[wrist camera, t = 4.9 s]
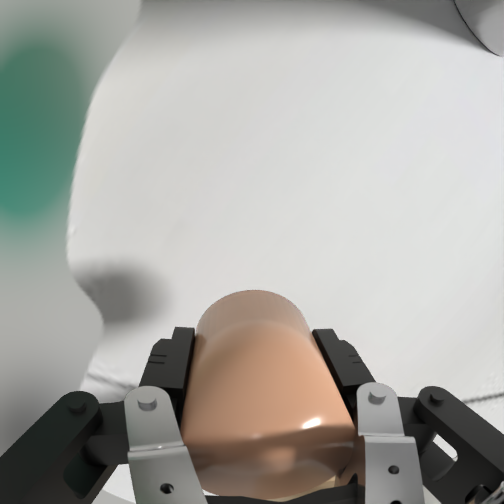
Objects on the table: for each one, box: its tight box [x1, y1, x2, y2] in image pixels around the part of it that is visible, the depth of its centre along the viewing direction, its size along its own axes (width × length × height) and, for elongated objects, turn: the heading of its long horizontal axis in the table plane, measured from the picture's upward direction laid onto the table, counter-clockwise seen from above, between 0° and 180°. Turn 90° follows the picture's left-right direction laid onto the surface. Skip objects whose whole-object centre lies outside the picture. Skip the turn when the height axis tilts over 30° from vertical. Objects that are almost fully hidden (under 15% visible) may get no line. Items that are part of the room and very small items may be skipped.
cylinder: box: [180, 290, 357, 500], centre depth 9 cm, size 5×5×6 cm
